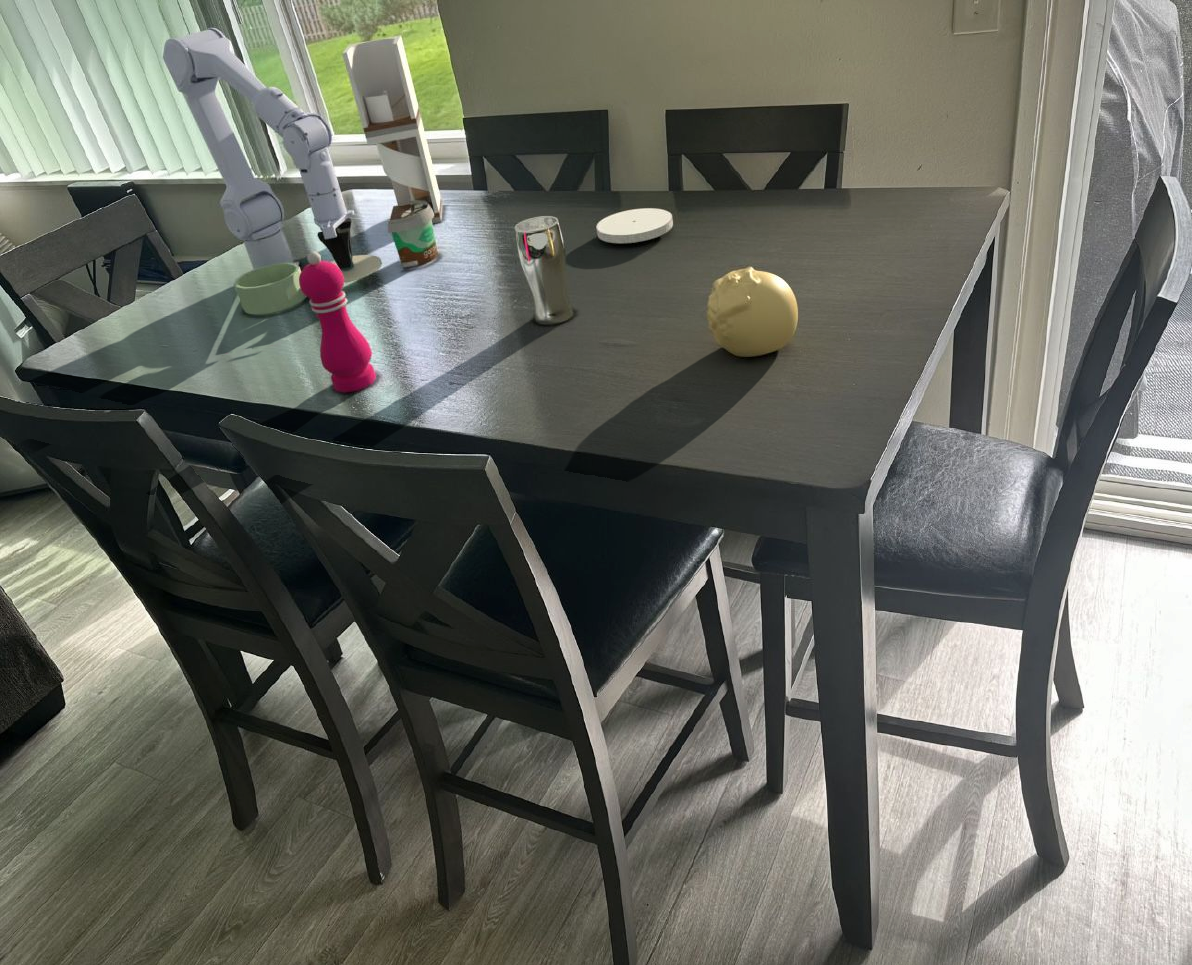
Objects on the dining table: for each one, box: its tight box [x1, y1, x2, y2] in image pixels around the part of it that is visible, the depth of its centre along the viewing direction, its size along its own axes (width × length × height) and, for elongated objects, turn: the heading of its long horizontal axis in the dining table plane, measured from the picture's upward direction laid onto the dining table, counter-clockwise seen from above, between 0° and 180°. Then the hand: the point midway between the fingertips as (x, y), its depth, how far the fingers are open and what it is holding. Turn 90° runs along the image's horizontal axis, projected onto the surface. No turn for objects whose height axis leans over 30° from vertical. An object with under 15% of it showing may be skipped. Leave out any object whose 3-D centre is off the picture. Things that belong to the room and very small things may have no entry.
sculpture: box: [706, 266, 799, 358], centre depth 124 cm, size 11×12×11 cm
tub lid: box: [330, 254, 383, 284], centre depth 169 cm, size 13×13×5 cm
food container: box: [387, 200, 438, 269], centre depth 175 cm, size 12×6×10 cm, turn 168°
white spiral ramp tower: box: [341, 34, 444, 225], centre depth 192 cm, size 11×11×35 cm
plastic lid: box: [596, 207, 674, 244], centre depth 171 cm, size 14×14×2 cm
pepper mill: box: [299, 251, 377, 393], centre depth 132 cm, size 7×7×20 cm
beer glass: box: [514, 215, 574, 326], centre depth 142 cm, size 7×7×15 cm
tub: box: [233, 263, 308, 315], centre depth 169 cm, size 12×12×6 cm
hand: (346, 264), depth 170 cm, fingers closed on tub lid, 2 cm apart
